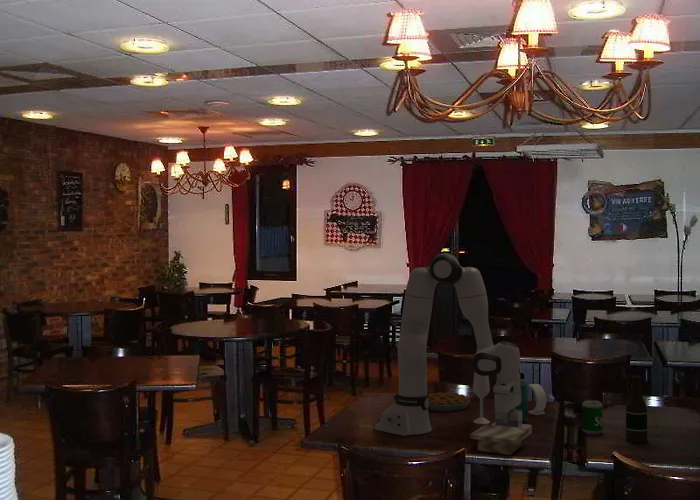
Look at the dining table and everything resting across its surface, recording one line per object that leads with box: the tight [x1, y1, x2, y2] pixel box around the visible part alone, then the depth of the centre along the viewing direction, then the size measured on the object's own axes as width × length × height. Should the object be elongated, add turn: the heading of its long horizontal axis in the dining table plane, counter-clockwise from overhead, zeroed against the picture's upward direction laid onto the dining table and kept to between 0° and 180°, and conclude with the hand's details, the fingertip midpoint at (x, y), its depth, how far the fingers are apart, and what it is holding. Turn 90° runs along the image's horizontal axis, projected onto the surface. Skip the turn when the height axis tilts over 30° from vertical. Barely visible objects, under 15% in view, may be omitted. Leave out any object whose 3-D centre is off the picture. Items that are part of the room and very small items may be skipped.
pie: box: [427, 391, 471, 412], centre depth 347 cm, size 22×22×5 cm
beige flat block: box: [491, 421, 533, 442], centre depth 300 cm, size 14×12×3 cm
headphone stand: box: [527, 383, 547, 416], centre depth 331 cm, size 5×6×12 cm
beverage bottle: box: [515, 372, 529, 422], centre depth 317 cm, size 6×7×20 cm
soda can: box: [581, 399, 604, 436], centre depth 301 cm, size 8×8×12 cm
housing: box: [494, 409, 523, 428], centre depth 300 cm, size 9×5×6 cm, turn 60°
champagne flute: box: [472, 370, 491, 425], centre depth 319 cm, size 7×7×24 cm
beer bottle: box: [625, 374, 648, 444], centre depth 289 cm, size 8×8×24 cm
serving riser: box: [469, 423, 528, 456], centre depth 282 cm, size 16×16×6 cm
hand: (508, 420), depth 300 cm, fingers closed on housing, 5 cm apart
